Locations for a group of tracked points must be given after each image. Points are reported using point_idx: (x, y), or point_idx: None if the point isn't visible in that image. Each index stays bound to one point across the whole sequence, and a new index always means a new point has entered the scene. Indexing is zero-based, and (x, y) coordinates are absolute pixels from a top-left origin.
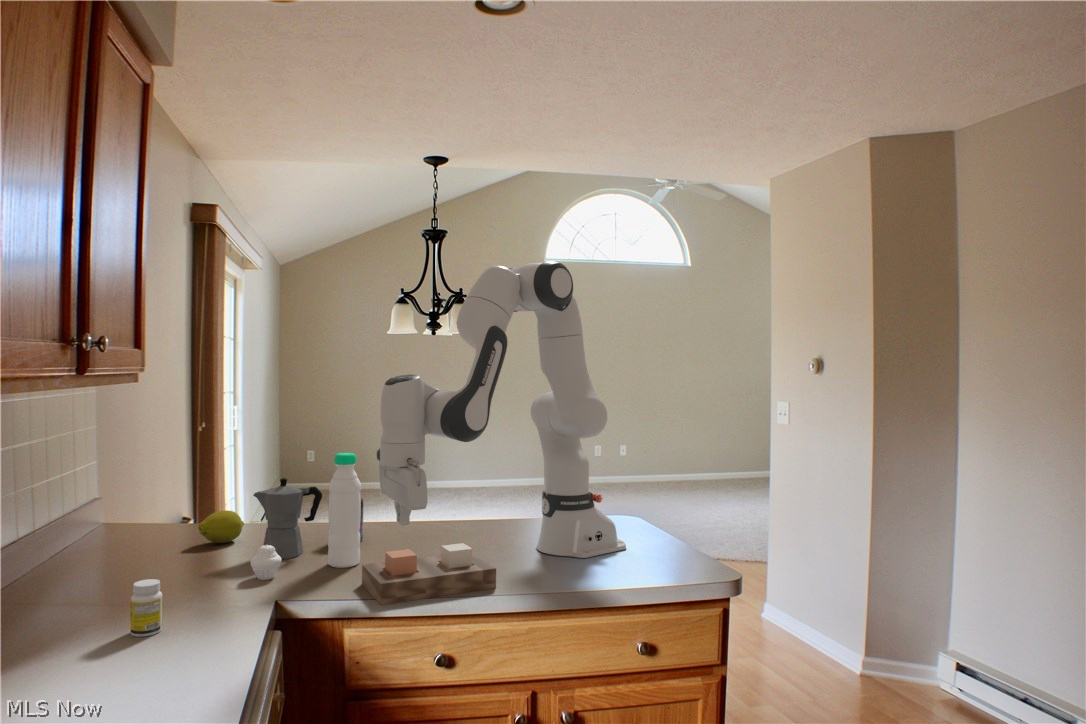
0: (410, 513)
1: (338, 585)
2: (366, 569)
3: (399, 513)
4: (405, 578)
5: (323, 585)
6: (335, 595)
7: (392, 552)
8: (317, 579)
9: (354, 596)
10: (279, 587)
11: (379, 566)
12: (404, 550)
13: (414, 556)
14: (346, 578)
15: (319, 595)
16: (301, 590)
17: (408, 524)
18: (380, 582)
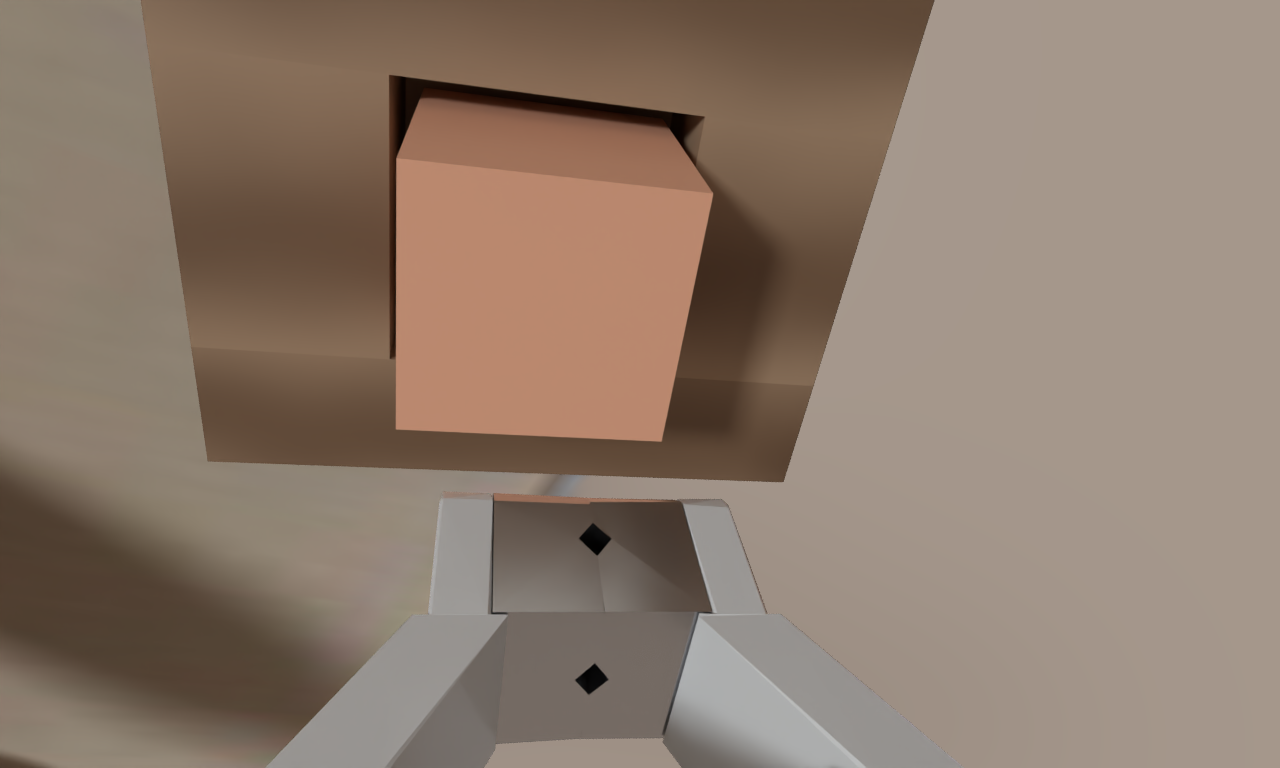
0: (833, 659)
1: (220, 497)
2: (366, 465)
3: (490, 734)
4: (787, 301)
5: (184, 565)
6: (427, 549)
7: (455, 376)
8: (19, 570)
9: (502, 473)
10: (138, 733)
11: (328, 361)
12: (435, 234)
13: (702, 215)
14: (49, 419)
15: (384, 610)
16: (244, 663)
17: (713, 500)
18: (752, 476)
